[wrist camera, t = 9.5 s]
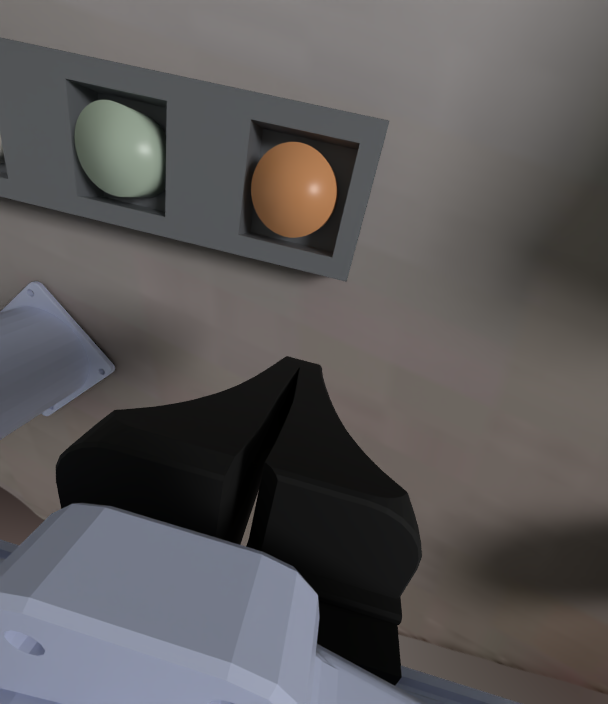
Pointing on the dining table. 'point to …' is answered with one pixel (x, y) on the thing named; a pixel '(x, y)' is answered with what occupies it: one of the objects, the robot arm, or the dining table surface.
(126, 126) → the sage button
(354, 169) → the button panel
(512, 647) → the dining table surface
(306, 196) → the orange button
